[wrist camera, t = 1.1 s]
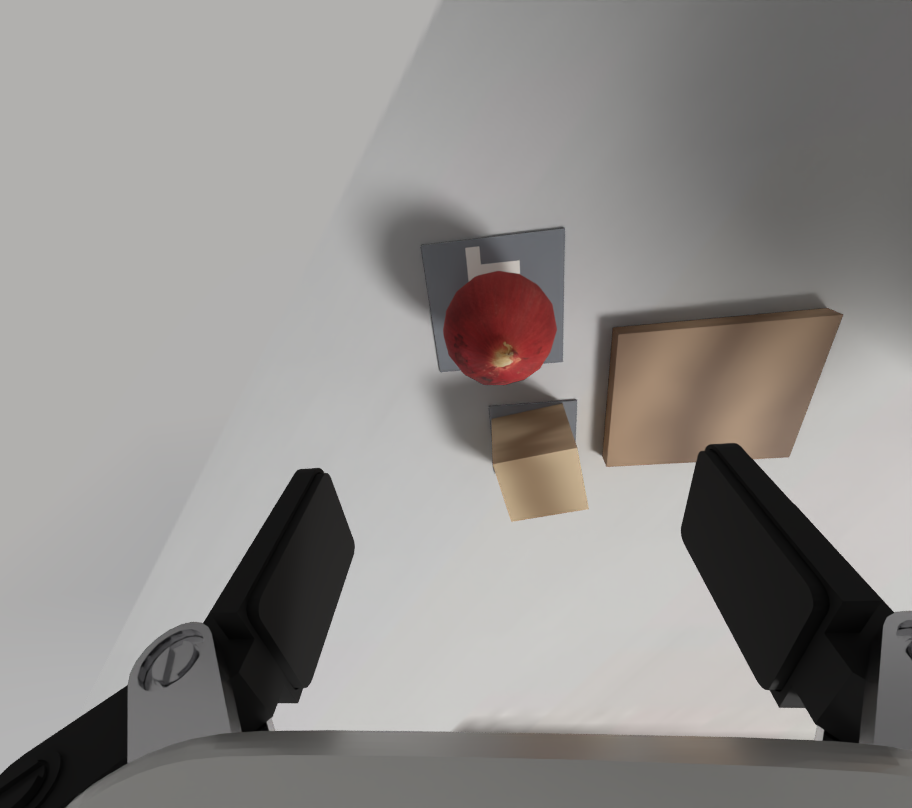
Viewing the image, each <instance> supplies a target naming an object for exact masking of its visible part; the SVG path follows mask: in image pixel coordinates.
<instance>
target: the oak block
mask: <svg viewBox="0 0 912 808" xmlns="http://www.w3.org/2000/svg"><path fill="white" fill-rule="evenodd" d="M491 424H492V458H493V467H494V470H495V473H496V476H497V479H498V482H499V485H500V488H501V491H502V495H503V498H504V501H505V504H506V507H507V510H508V513H509V516H510V519H511V522H513V521H519V520H525V519H531V518H537V517H543V516H549V515H555V514H561V513H567V512H573V511H580V510H586V509H589V508H588V503H587V498H586V492H585V487H584V482H583V476H582V471H581V466H580V460H579V455H578V450H577V446H576V443H575V440H574V437H573V434H572V431H571V428H570V424H569V421H568V418H567V415H566V412H565V409H564V406H563V403H562V404H558V405H553V406H548V407H544V408H539V409H535V410H530V411H526V412H521V413H516V414H512V415H507V416H503V417H498V418H494V419H491Z"/></svg>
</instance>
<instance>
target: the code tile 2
mask: <svg viewBox="0 0 912 808" xmlns="http://www.w3.org/2000/svg"><path fill="white" fill-rule="evenodd" d="M562 403H563V406H564V409H565V412H566V415H567V418H568V421H569V424H570V428H571V431H572V434H573V437H574V440H575V443H576V417H577V400H566V401H552V402H538V403H524V404H510V405H497V406H489V415H490V425H491V436H492V424H491V419H494V418H498V417H503V416H507V415H512V414H516V413H521V412H526V411H530V410H535V409H539V408H544V407H548V406H553V405H558V404H562Z"/></svg>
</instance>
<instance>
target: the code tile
mask: <svg viewBox="0 0 912 808" xmlns="http://www.w3.org/2000/svg"><path fill="white" fill-rule="evenodd" d="M564 249H565V228H560V229H552V230H543V231H535V232H527V233H518V234H510V235H501V236H493V237H485V238H476V239H468V240H460V241H451V242H443V243H435V244H426V245H421V251H422V258H423V264H424V271H425V277H426V284H427V290H428V296H429V303H430V309H431V316H432V322H433V328H434V335H435V341H436V348H437V354H438V360H439V367H440V372H448V371H460V369H459V367H458V366H457V365H456V364H455V362H454V361H453V360H452V359H451V357H450V356H449V354H448V350H447V347H446V343H445V339H444V334H443V327H444V321H445V315H446V310H447V308H448V306H449V305H450V303H451V301H452V299H453V297H454V295H455V294H456V292H457V291H458V290H459V289H460V288H462V287H463V286H464V285H465V284H467V283H468V282H469V281H470V280H471V279H473V278H474V277H476V276H478V275H482V274H487V273H491V272H495V271H504V272H510V273H517V274H520V275H522V276H524V277H526V278H527V279H529V280H531V281H532V282H534V283H536V284H537V285H538V286H539V287H540V288H541V289H542V291H543V292H544V293H545V295H546V296H547V297H548V299H549V300H550V301H551V303H552V304H553V310H554V315H555V321H556V326H557V332H556V335H555V338H554V342H553V345H552V349H551V352H550V354H549V355H548V357H547V358H546V360H545V361H544V363H556V362H563V313H564ZM544 363H543V364H544Z"/></svg>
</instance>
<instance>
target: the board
mask: <svg viewBox="0 0 912 808" xmlns="http://www.w3.org/2000/svg"><path fill="white" fill-rule="evenodd" d="M842 317H843V314H841V313H838V312H836V311H833V310H831V309H829V308H822V309H811V310H800V311H789V312H778V313H767V314H756V315H745V316H734V317H723V318H712V319H701V320H690V321H679V322H668V323H657V324H646V325H635V326H624V327H613V332H612V344H611V357H610V369H609V381H608V393H607V406H606V418H605V430H604V443H603V455H602V457H603V459H604V462H605V464H606V466H607V467H613V466H632V465H651V464H670V463H689V462H696V461H697V457H698V454H699V452H700V451H705V448H706V447H707V446H708V445H710V444H724V443H737V444H739V445H740V446H741V447H742V448H743V449H744V450H745V451H746V453H747V454H748V455H749V456H750V457H751V458H752V459H764V458H783V457H789V456H790V454H791V451H792V448H793V446H794V443H795V441H796V438H797V435H798V433H799V430H800V427H801V425H802V422H803V419H804V417H805V414H806V412H807V409H808V406H809V404H810V401H811V398H812V396H813V393H814V390H815V388H816V385H817V383H818V380H819V377H820V375H821V372H822V369H823V367H824V364H825V362H826V359H827V356H828V354H829V351H830V348H831V346H832V343H833V340H834V338H835V335H836V333H837V330H838V327H839V325H840V322H841V319H842Z"/></svg>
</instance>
